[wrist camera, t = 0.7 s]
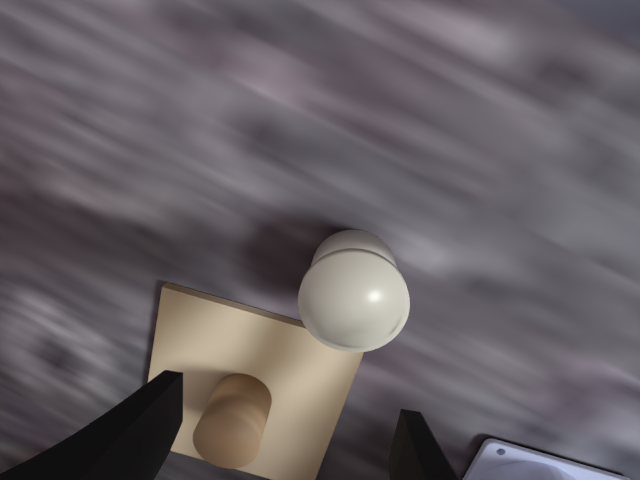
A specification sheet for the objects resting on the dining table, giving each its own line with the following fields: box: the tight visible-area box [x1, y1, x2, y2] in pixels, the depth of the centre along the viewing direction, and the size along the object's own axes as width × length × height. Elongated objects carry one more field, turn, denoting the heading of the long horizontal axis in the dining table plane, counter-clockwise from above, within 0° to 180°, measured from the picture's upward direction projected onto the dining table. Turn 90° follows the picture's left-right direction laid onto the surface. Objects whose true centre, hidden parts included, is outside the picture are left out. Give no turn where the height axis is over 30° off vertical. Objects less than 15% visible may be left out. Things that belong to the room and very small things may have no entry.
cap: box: [298, 230, 410, 352], centre depth 19 cm, size 5×5×4 cm
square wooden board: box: [148, 282, 364, 480], centre depth 22 cm, size 12×12×4 cm
